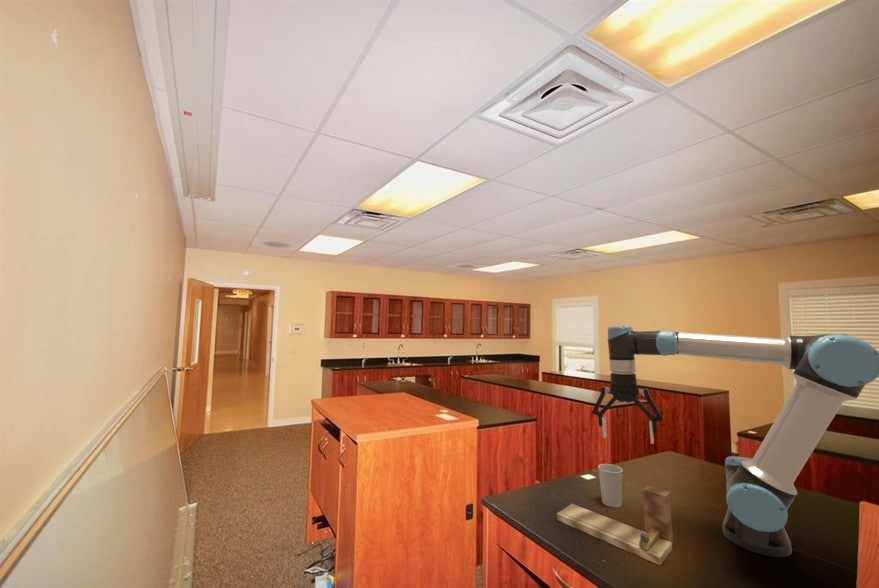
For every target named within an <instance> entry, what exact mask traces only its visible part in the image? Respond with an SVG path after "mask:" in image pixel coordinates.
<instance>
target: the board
mask: <svg viewBox="0 0 879 588" xmlns="http://www.w3.org/2000/svg"><path fill="white" fill-rule="evenodd" d="M556 521H558V522H560V523H563V524H564V525H567V526H570V527H571V528H574V529H577V530H579V531H580V532H583V533H585V534H588V535H589V536H592V537H595V538H596V539H599V540H601V541H603V542H606V543H608V544H610V545H611V546H612V545H613V546H615V547H616V548H619V549H621V550H624V551H626V552H629V553H631V554H632V555H633V554H634V556H637V557H640V558H641V559H644V560H647V561H649V562H651V563H653V564H656V565H658V566H661V565H662V563H664V562H665V560H666V558H667V557H668V556H669V555H670V553H671V552H672V551H673V543H672V542H669V541H667V540H664V539H662V538H658V539H657V540H656V542H655V543H654V544H653V545H652V546H651V547H650V548H649V549H648V551H647V550H645V549H643V548H640V546H639V541H640V540H641V539H640V535H641V534H642V533H644V534H647V533H646V532H645V530H644V531H643V530H641V529H638V528H636V527H633V526H630V525H628V524H625V523H623V522H620V521H617V520H616V519H613V518H610V517H607V516H605V515H602V514H600V513H597V512H595V511H593V510H589V509H587V508H585V507H582V506H579V505H577V504H574V503H571V504H569V505H567V506H566V507H564V508H562V509H561V510H560V511H558V512H557V513H556Z"/></svg>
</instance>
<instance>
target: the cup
mask: <svg viewBox="0 0 879 588" xmlns="http://www.w3.org/2000/svg"><path fill="white" fill-rule="evenodd" d="M597 468H598V476H599V485H600V493H601V494H600V495H601V502H602V504H604V505H605V506H607V507H609V508H620V507H622V504H623V503H622V491H623V490H622V489H623V470H624V469H623V468H621V467H620V466H619V465H615V464H610V463H609V464H608V463H601V464H598V466H597Z"/></svg>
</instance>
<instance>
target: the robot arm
mask: <svg viewBox="0 0 879 588" xmlns="http://www.w3.org/2000/svg"><path fill="white" fill-rule="evenodd" d="M607 345H608V356H609V359H608V362H609V371H610V374H609V375H610V387H607V386H606V385H605V386H604V385H603V386H601V388H600V395H599V396H598V399H597V401H596V403H595V404H594V407H593V409H592V411H591V413H592V414H593V415H595V416H597V417H598V419H597V420H598V426H599V427H601V428H602V438H604V439H606V438H607V436H608V434H607V422H606V421H607V419H606V415H604V414H605V413H606V412H607V411H608V410H609V408H611V406H612V405H613V404H614V403H615V402H616V401H618V402H620V403H624V402H626V403H632V402H633V403H634V404H635V405H636V407H638V408H639V409H640V410H641V411H642V413H644V414H645V415H646V417H648V419H649V421H648V427H649V434H650V435H649V438H650V444H652V445H654V442H655V439H654V433H657V432H658V427H657V424H658V423H657V422H659V421H663V415H662V414H661V412H660V410H659V408H658V407H657V405H656V404H655V402H654V400H653V399H652V397H651V396H650V392H649V389H648V388H644V389H643V388H640V389H639V388H638V384H637V383H638V382H637V374H636V373H635V372H637V371H636V358H635V356H636V355H637V356H642V355H643V356H644V355H645V356H663V357H665V356H675V355H680V356H692V357H700V358H701V357H702V358H711V359H721V360H732V361H742V362H750V363H751V362H753V363H761V364H762V363H763V364H771V365H779V366H783V367H784V368H786V370H794V371H793V373H792V375H793V377H794V379H795V381H796V384H795V386H794V387H793V389H792V391H791V392H790V394H789V396H788V397H787V399H786V401H785V402H784V404H783V406H782V408H781V409H780V411H779V413H778V414H777V416H776V418H775V420H774V422H773V423H772V425H771V427H770V428H769V430H768V431H767V434H766V436H765V437H764V438H763V440H762V442H761V444H760V446H759V447H758V449H757V451H756V452H755V454H754V456H753V457H752V458H750V457H742V456H735V455H734V456H733V455H732V456H727V457H726V458H725V460H724V461H725V462H724V463H725V464H724V467H725V477H726V486H725V487H726V490H725V491H726V492H725V501H726V504H727V507H728V508H727V510H726V513H725V517H724V520H723V521H722V532H723V533H722V534H723V535H724V537H725V538H726V539H727V540H729V541H730V542H731V543H733V544H735V545H736V546H738V547H741V548H742V549H744V550H747V551H750V552H752V553H755V554H759V555H762V556H766V557H767V556H768V557H773V558H787V557H790V556H791V555H792V554H793V550H792V549H793V548H792V543H791V539H790V537H789V535H788V533H787V531H786V529H785V526H786V525H787V522H788V518H789V512H788V510H789V508H790V506H791V504H792V503H793V501H794V500H795V498H796V497H797V495H798V490H797V489H796V487H795V485H794V483H795V481H796V480H797V477H798V476H799V475H800V473H801V472H802V470H803V468H804V466H805V465H806V463H807V461H809V458H810V457H811V455H812V454H813V452H814V450H815V449H816V448H817V445H818V444H819V442H820V441H821V439H822V437H823V435H824V434H825V433H826V431H827V429H828V428H829V426H830V424H831V422H833V420H834V418H835V416H836V414H837V413H838V411H839V409H840V408H841V407H842V405H843V404H844V402H846V401H853V400H857V399H858V397H859V395H860V394H861V392H862V391H863V390H864V388H865V386H866V385H868V384H870V383H872V382H873V381H875V380H876V379H877V378H878V377H879V352H878V351H877V349H876V348H875V347H873V346H872V345H871V344H870V343H868V342H867V341H864V340H863V339H861V338H859V337H855V336H851V335H847V334H838V333H837V334H831V333H830V334H829V333H828V334H827V333H826V334H815V335H789V334H788V335H785V336H784V337H782V338H781V337H780V338H779V337H763V336H749V335H747V336H746V335H732V334H717V333H716V334H715V333H702V332H699V333H698V332H686V331H685V332H683V331H672V330H647V331H639V330H638V331H635V330H633V327H632V325H611V326H609V327H608V328H607ZM609 392H610V393H611V394H612V396H613V397H611V398H610V400H609V401H608V402H607V403H606V404H605V405H604V407H603V408H602V409H601V410H600V411H599V409H600V407H601V405H602V402H603V400H604V398H605V396H606V394H608V393H609ZM639 394H640V395H641V396H643V397H644V398H645V400H646V402H647V403H648V405H649V408H651V410H652V411H653V412H654V414H653V413H652V412H651V411H650V410H649V409H648V408H647V407H646V405H644V404H643V402H642V401H641V400H640V399H639V398H638V397H637V396H638V395H639Z"/></svg>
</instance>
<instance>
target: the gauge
mask: <svg viewBox="0 0 879 588" xmlns="http://www.w3.org/2000/svg"><path fill="white" fill-rule="evenodd" d="M642 495H643V497H642V499H643V500H642V501H643V516H644V517H643V518H644V532H646V533H647V534H644V533H642V534H641V535H640V539H641V540H640V541H639V546H640V548H643V549H645V550H647V551H648V549H649V548H650V547H651V546H652V545H653V544H654V543H655V542H656V540H657V539H658V538H662V539H664V540H667V541H669V542H672V544H673V543H674V537H673V536H674V535H673V523H672V503H671V492H670V491H667V490H665V489H661V488H658V487H654V486H650V485H646V486H645V487H644V488H643V489H642Z"/></svg>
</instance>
